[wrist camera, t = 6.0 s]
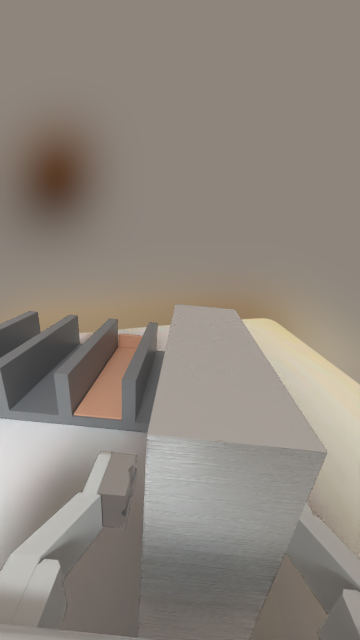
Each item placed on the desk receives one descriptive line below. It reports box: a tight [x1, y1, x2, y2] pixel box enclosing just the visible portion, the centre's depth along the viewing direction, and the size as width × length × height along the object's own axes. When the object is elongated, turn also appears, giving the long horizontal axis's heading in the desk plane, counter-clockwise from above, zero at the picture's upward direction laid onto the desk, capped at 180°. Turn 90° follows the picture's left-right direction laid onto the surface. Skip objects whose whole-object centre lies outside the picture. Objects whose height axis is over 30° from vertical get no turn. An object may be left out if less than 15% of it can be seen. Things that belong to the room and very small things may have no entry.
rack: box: [0, 311, 165, 432], centre depth 27 cm, size 30×15×6 cm, turn 88°
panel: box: [138, 304, 327, 640], centre depth 10 cm, size 3×8×14 cm, turn 178°
